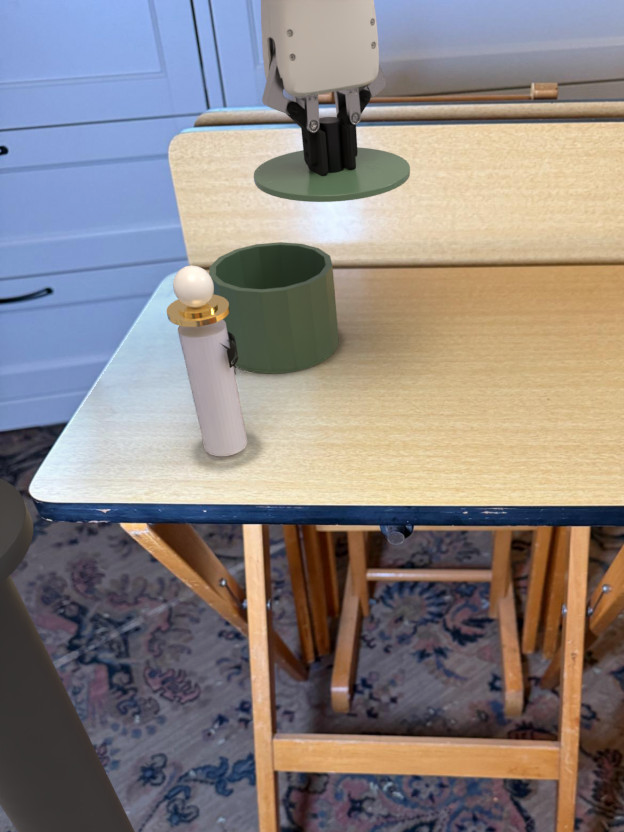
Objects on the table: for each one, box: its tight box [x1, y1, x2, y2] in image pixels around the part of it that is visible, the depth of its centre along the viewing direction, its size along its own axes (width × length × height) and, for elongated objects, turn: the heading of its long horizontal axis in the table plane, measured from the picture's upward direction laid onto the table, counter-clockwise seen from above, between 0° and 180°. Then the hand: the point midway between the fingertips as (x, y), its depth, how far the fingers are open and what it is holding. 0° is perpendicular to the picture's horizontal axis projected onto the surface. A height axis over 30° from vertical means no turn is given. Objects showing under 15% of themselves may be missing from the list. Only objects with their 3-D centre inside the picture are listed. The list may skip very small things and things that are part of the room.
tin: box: [208, 241, 340, 375], centre depth 99 cm, size 15×15×10 cm
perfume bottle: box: [166, 264, 248, 457], centre depth 78 cm, size 6×6×20 cm
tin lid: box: [253, 116, 411, 203], centre depth 78 cm, size 16×16×6 cm
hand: (331, 167), depth 79 cm, fingers closed on tin lid, 2 cm apart
